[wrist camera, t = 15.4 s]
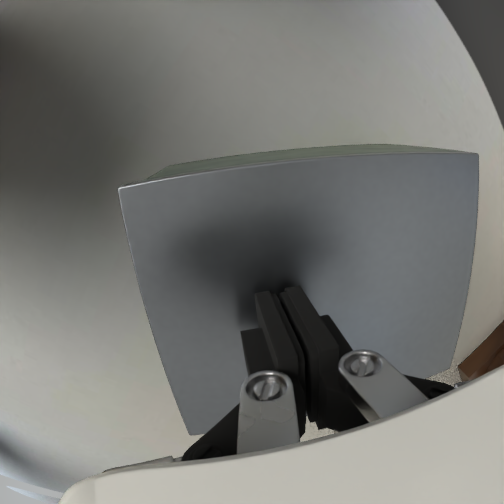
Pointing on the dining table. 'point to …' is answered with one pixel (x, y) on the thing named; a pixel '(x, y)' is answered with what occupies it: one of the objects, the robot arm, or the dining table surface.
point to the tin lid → (303, 260)
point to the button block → (484, 356)
